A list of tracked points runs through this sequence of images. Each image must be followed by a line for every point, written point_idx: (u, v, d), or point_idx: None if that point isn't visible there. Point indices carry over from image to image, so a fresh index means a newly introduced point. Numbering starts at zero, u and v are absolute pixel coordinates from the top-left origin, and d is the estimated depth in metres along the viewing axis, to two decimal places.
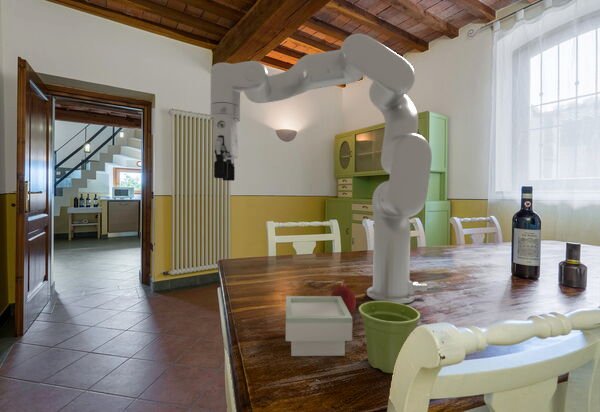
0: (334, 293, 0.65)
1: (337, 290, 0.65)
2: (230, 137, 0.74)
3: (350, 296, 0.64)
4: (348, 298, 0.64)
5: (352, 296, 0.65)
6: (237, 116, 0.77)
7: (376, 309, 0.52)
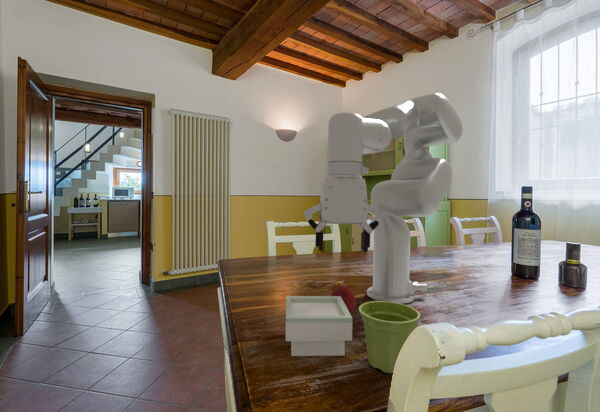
0: (334, 293, 0.65)
1: (337, 290, 0.65)
2: None
3: (350, 296, 0.64)
4: (348, 298, 0.64)
5: (352, 296, 0.65)
6: None
7: (376, 309, 0.52)
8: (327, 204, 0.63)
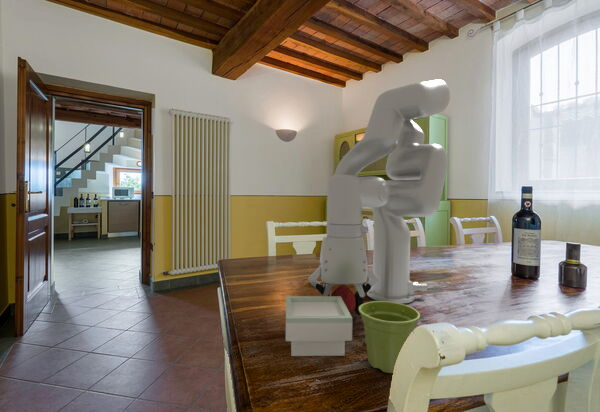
0: (334, 293, 0.65)
1: (337, 290, 0.65)
2: None
3: (350, 296, 0.64)
4: (348, 298, 0.64)
5: (352, 296, 0.65)
6: None
7: (376, 309, 0.52)
8: (327, 266, 0.64)
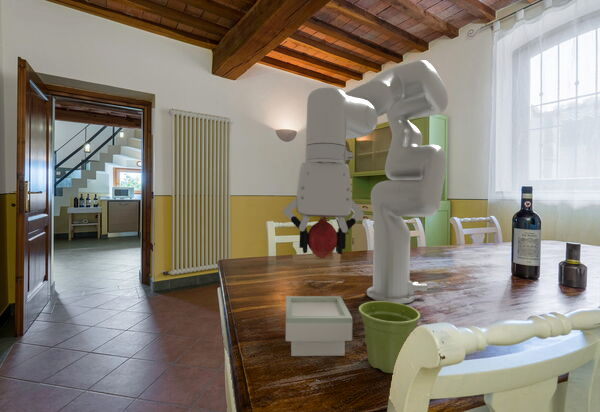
0: (312, 227, 0.56)
1: (316, 224, 0.56)
2: None
3: (331, 230, 0.55)
4: (328, 231, 0.55)
5: (333, 230, 0.55)
6: None
7: (376, 309, 0.52)
8: (304, 193, 0.54)
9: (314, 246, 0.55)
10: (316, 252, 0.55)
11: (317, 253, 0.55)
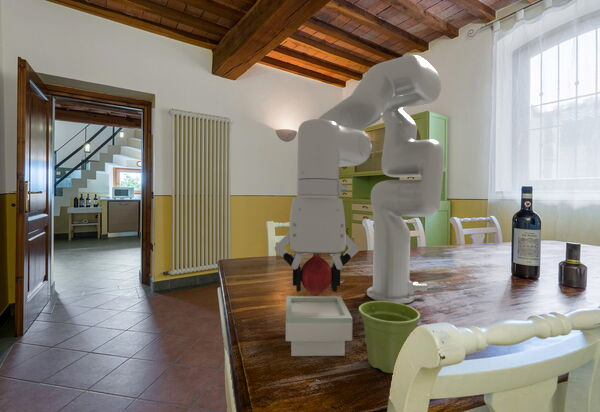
0: (305, 264, 0.54)
1: (309, 260, 0.54)
2: None
3: (325, 268, 0.53)
4: (322, 269, 0.52)
5: (327, 268, 0.53)
6: None
7: (376, 309, 0.52)
8: (296, 230, 0.52)
9: (308, 285, 0.52)
10: (310, 290, 0.53)
11: (311, 291, 0.53)
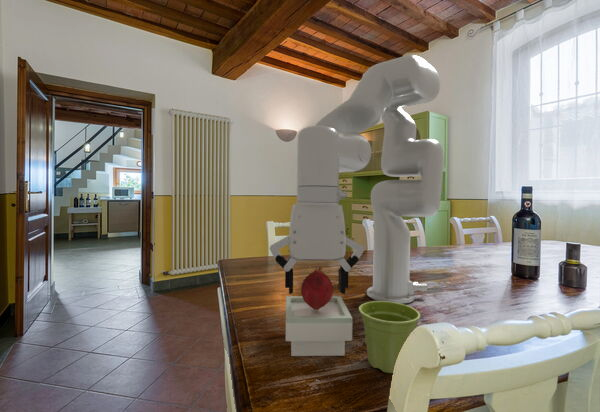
0: (307, 279, 0.54)
1: (310, 275, 0.54)
2: None
3: (326, 284, 0.53)
4: (323, 286, 0.52)
5: (328, 284, 0.53)
6: None
7: (376, 309, 0.52)
8: (296, 237, 0.52)
9: (308, 300, 0.52)
10: (310, 305, 0.53)
11: (311, 306, 0.53)
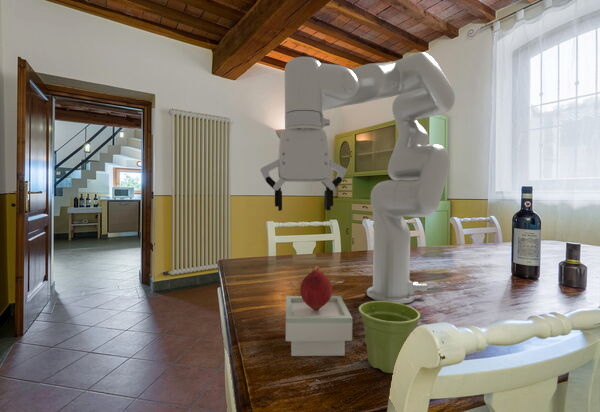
0: (305, 279, 0.54)
1: (309, 275, 0.54)
2: None
3: (324, 283, 0.53)
4: (322, 284, 0.53)
5: (327, 283, 0.53)
6: None
7: (376, 309, 0.52)
8: (285, 158, 0.58)
9: (308, 300, 0.53)
10: (310, 305, 0.53)
11: (311, 306, 0.54)
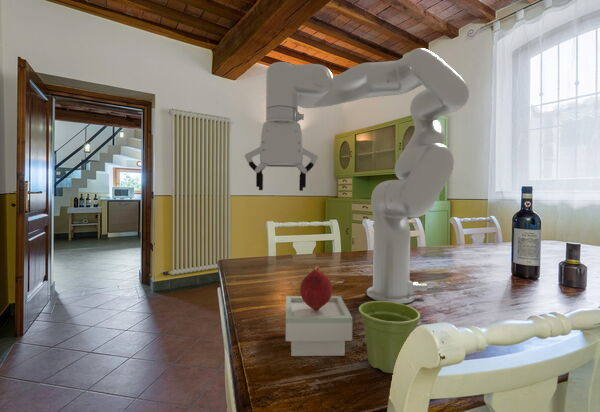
0: (305, 279, 0.54)
1: (309, 275, 0.54)
2: None
3: (324, 283, 0.53)
4: (322, 284, 0.53)
5: (327, 283, 0.53)
6: None
7: (376, 309, 0.52)
8: (265, 146, 0.69)
9: (308, 300, 0.53)
10: (310, 305, 0.53)
11: (311, 306, 0.54)
